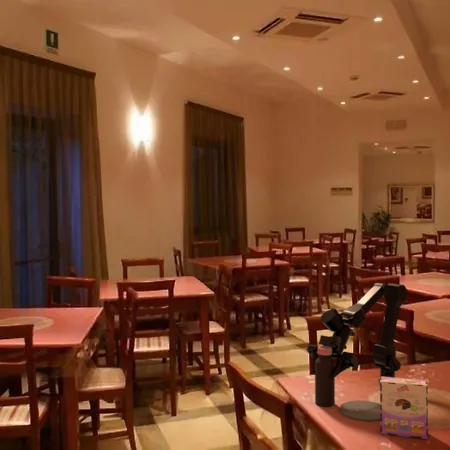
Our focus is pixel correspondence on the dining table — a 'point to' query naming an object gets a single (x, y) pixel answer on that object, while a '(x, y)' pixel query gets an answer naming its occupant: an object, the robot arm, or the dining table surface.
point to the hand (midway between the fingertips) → (322, 376)
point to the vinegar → (324, 377)
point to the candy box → (404, 407)
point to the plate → (361, 410)
